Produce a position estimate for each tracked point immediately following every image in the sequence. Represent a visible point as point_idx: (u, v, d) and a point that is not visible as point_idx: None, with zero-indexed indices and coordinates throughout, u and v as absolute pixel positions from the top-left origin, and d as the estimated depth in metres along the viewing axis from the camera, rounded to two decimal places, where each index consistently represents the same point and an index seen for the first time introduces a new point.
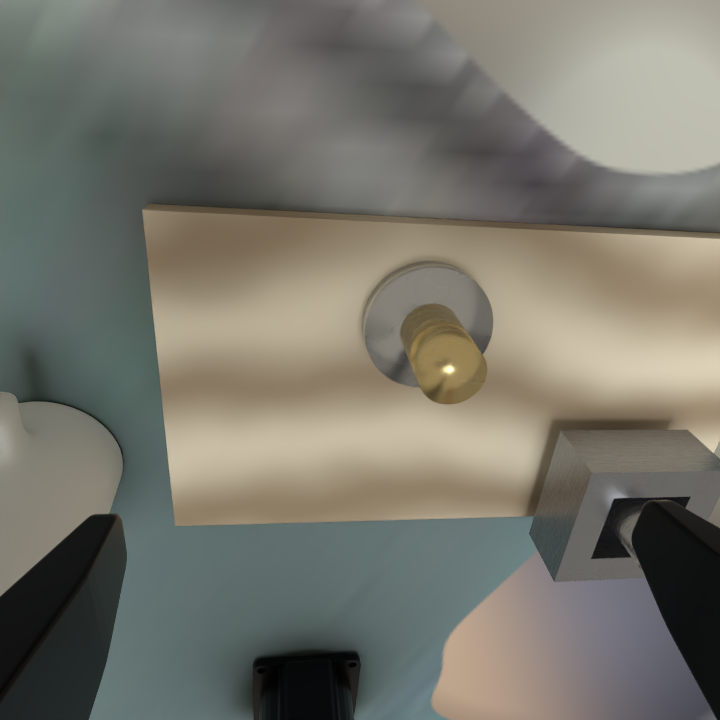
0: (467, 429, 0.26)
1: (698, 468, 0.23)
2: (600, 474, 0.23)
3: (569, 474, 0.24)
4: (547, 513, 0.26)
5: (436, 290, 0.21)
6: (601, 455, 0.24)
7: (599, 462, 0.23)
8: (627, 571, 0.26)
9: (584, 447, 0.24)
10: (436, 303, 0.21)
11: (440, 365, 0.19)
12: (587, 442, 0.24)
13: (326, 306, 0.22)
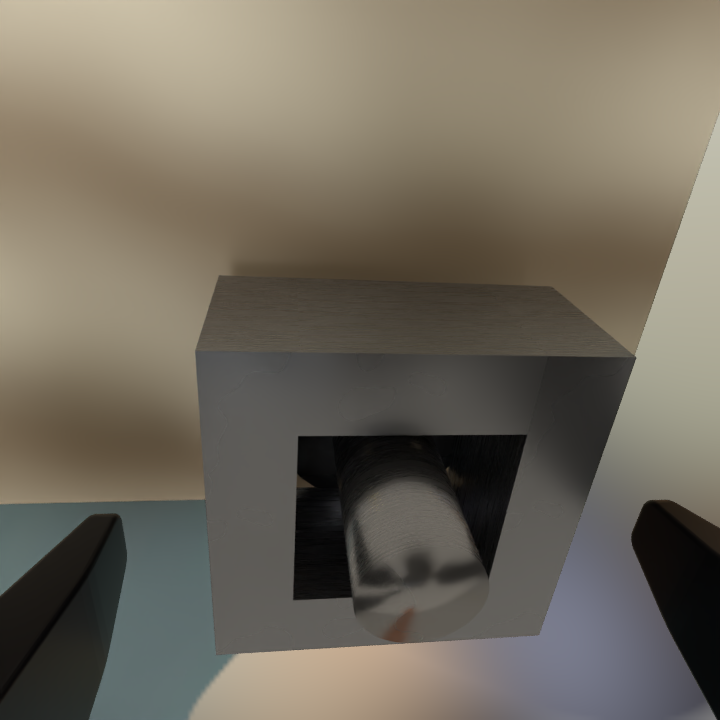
0: (13, 282, 0.11)
1: (540, 352, 0.08)
2: (228, 358, 0.08)
3: None
4: None
5: None
6: (273, 318, 0.08)
7: (248, 330, 0.08)
8: None
9: (243, 303, 0.09)
10: None
11: None
12: (264, 295, 0.09)
13: None
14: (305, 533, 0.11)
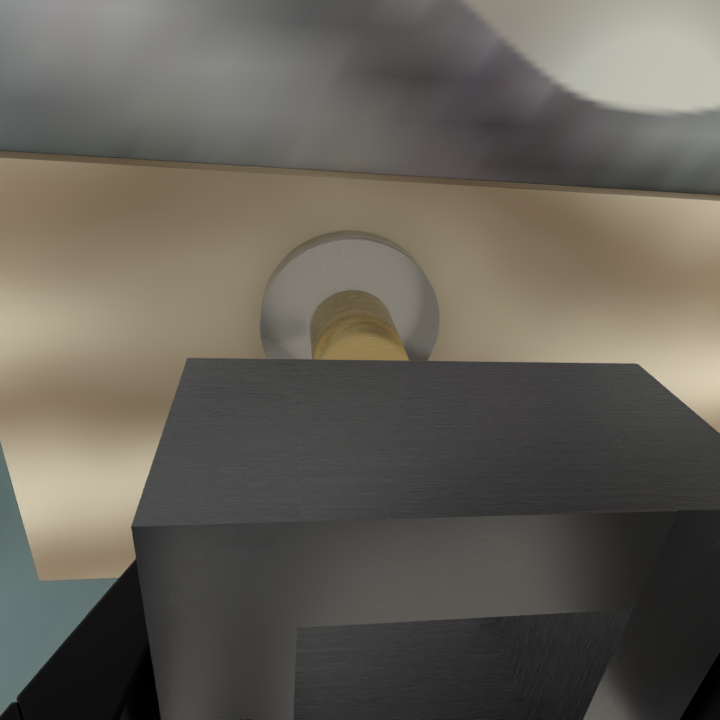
0: None
1: (660, 497, 0.06)
2: (186, 532, 0.05)
3: None
4: None
5: (355, 271, 0.15)
6: (260, 444, 0.06)
7: (220, 473, 0.05)
8: None
9: (216, 413, 0.06)
10: (357, 289, 0.15)
11: None
12: (248, 396, 0.06)
13: (209, 294, 0.16)
14: (307, 688, 0.09)
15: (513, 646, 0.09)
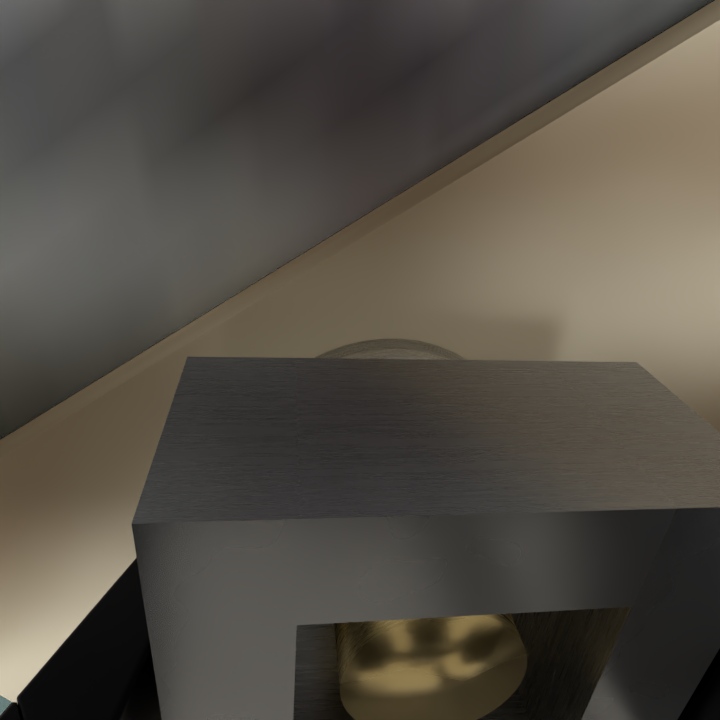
0: None
1: (659, 495, 0.06)
2: (186, 529, 0.05)
3: None
4: None
5: None
6: (259, 441, 0.06)
7: (219, 470, 0.05)
8: None
9: (216, 411, 0.06)
10: None
11: (386, 683, 0.07)
12: (248, 394, 0.07)
13: None
14: (307, 686, 0.09)
15: None
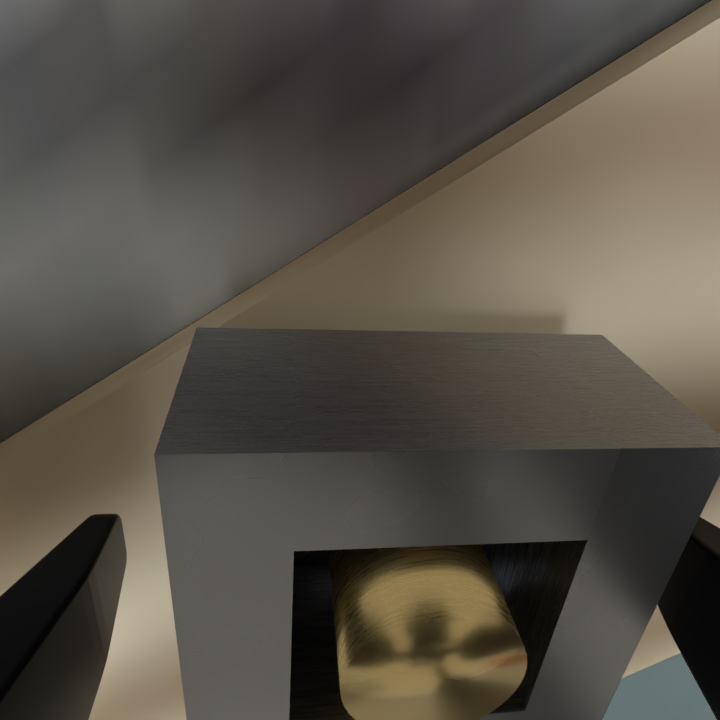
0: None
1: (608, 440, 0.06)
2: (200, 461, 0.06)
3: None
4: None
5: None
6: (261, 395, 0.07)
7: (227, 416, 0.06)
8: None
9: (223, 371, 0.07)
10: None
11: (386, 683, 0.07)
12: (251, 358, 0.07)
13: None
14: (304, 631, 0.09)
15: None
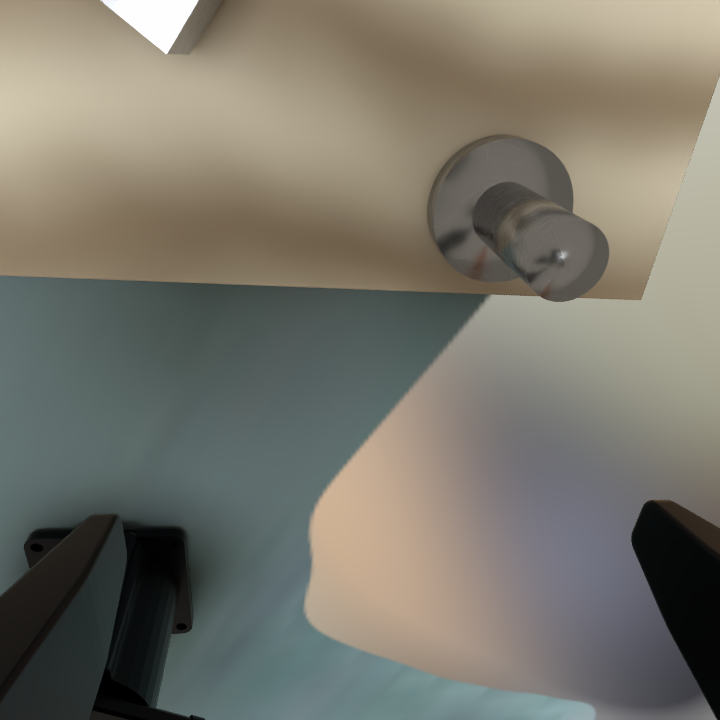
0: (270, 102, 0.16)
1: None
2: None
3: None
4: None
5: None
6: None
7: None
8: None
9: None
10: None
11: None
12: None
13: None
14: None
15: None
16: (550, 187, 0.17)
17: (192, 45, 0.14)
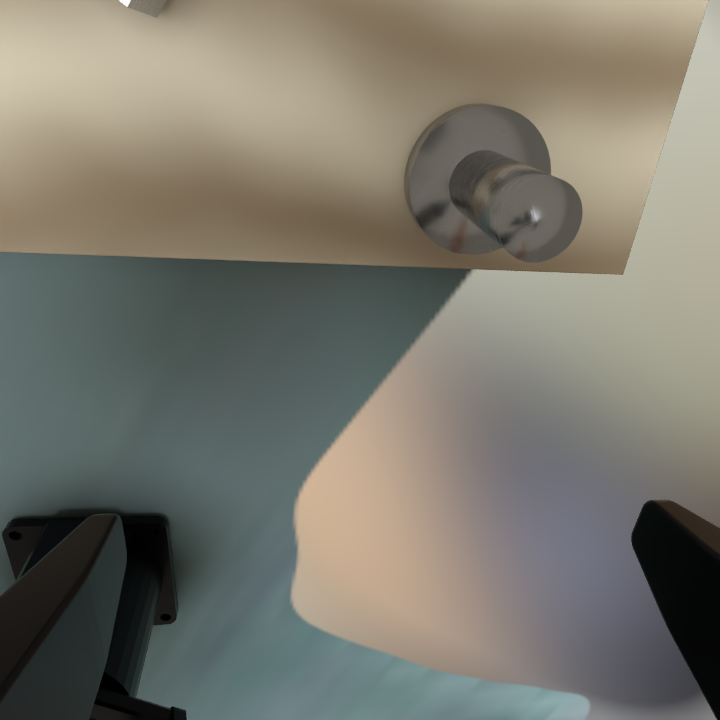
0: (241, 69, 0.15)
1: None
2: None
3: None
4: None
5: None
6: None
7: None
8: None
9: None
10: None
11: None
12: None
13: None
14: None
15: None
16: (527, 156, 0.17)
17: (159, 7, 0.13)
